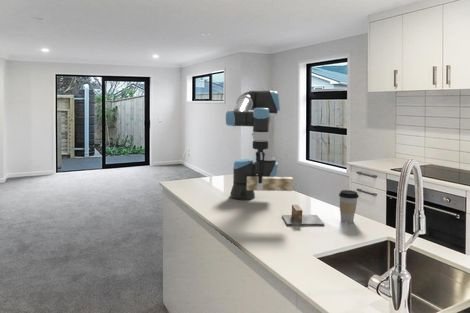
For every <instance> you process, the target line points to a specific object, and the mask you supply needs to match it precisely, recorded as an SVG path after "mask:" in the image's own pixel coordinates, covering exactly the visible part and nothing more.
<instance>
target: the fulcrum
mask: <svg viewBox="0 0 470 313" xmlns="http://www.w3.org/2000/svg"><path fill="white" fill-rule="evenodd" d="M281 217H282V219H283V221H284V223H285V224H286V226H287V227H299V226H301V227H302V226H303V227H309V226H311V227H313V226H314V227H315V226H316V225H321V226H322V225H323V227H324V226H325V223H324V221H323V220H321V218H320V217H319V216H318V215H317V214H303V209H302V208H301V207H300V205H299V204H292V205H291V214H282V215H281ZM321 226H320V227H321ZM316 227H317V226H316Z"/></svg>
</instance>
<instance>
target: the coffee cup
mask: <svg viewBox="0 0 470 313" xmlns="http://www.w3.org/2000/svg"><path fill="white" fill-rule="evenodd" d="M338 196H339V211H340V213H339V214H340V221H341V222H342V223H345V224H352V223H354V218H355V213H356V209H357V204H358V199H359V196H360V195H359V194H358V192H357V191H356V190H349V189H343V190H340V192H339V193H338Z"/></svg>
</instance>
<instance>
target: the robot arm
mask: <svg viewBox="0 0 470 313" xmlns="http://www.w3.org/2000/svg"><path fill="white" fill-rule="evenodd" d="M235 102H236V105H235V107H234V109H233V110H229V111H228V110H227V111H226V112H225V124H226V126H229V127H252V133H251V136H252V140H253V141H252V149H253V150H256V151H255V160H256V161H254V159H253V158H243V159H242V158H241V159H238V160H235V161H234V162H233V168H232V169H233V175H232V176H233V178H232V179H233V182H232V186H231V187H232V188H231V190H230V192H229V193H230V194H229V195H230V196H229V197H230V198H231V199H233V200H240V201H247V200H248V201H249V200H253V199H255V197H256V196H255V195H256V194H255V190H247V176H248V177H257V190H263V177H277V172H278V165H279V163H278V162H276V158H275V157H274V148H275V147H274V145H275V120H276V119H275V118H276V116H277V115H278V112H279V111H281V107H280V106H281V105H280V98H279V92H278V91H276V90H249V91H246V92H244V93H242V94H241V95H239V96H238V98H237V100H236V101H235Z"/></svg>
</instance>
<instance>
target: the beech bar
mask: <svg viewBox="0 0 470 313" xmlns="http://www.w3.org/2000/svg"><path fill="white" fill-rule="evenodd" d="M293 187H294V178H293V177H292V176H276V177H263V190H257V177H248V176H247V190H254V191H258V192H260V191H264V192H265V191H267V192H271V191H273V192H275V191H276V192H293V189H294V188H293Z"/></svg>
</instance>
